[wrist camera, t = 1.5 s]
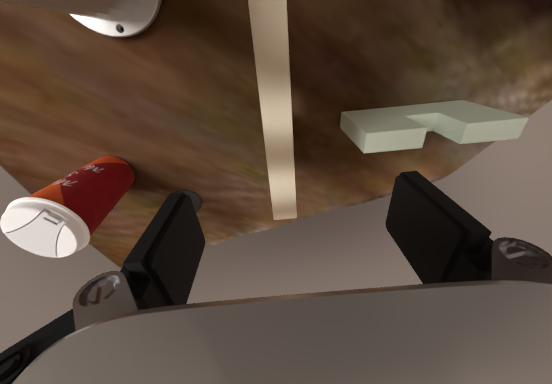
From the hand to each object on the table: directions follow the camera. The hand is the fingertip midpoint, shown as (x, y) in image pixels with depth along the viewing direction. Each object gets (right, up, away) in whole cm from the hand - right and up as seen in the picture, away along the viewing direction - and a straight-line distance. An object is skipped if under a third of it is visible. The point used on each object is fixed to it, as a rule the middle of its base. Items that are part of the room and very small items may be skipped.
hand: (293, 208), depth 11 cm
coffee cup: (-27, +4, +27) cm, 39 cm away
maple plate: (-1, +14, +22) cm, 26 cm away
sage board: (+18, +13, +24) cm, 32 cm away
